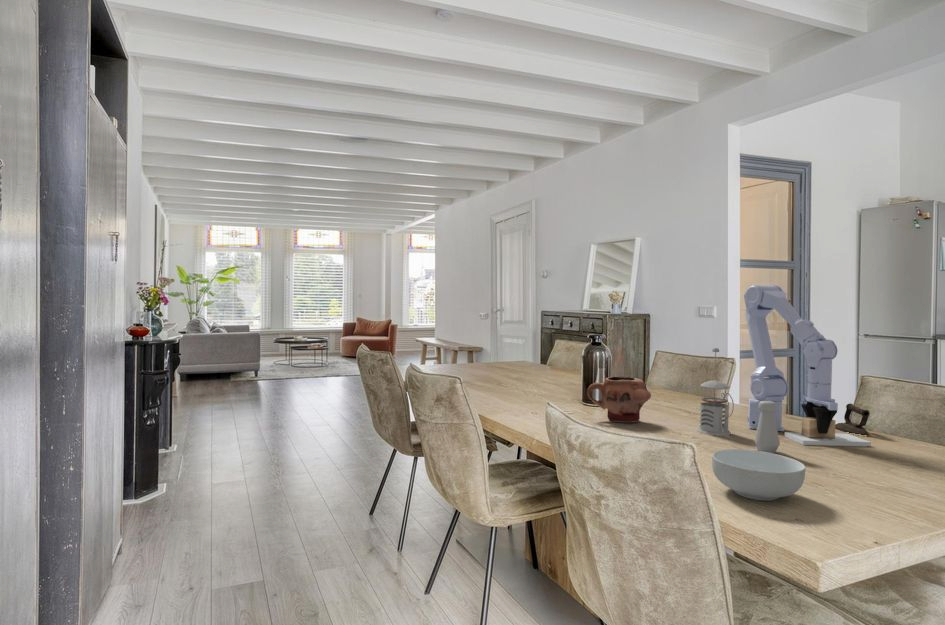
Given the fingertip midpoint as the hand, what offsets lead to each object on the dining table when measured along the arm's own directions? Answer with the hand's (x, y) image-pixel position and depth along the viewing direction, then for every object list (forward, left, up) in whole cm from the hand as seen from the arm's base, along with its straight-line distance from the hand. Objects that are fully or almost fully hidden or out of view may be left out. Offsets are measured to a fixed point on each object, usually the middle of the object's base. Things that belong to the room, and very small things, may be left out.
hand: (818, 431), depth 163 cm
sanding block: (0, 0, -2) cm, 2 cm away
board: (+2, +1, -3) cm, 4 cm away
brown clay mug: (-55, +4, -3) cm, 56 cm away
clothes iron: (+12, +19, -3) cm, 22 cm away
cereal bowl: (-19, -58, -3) cm, 61 cm away
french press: (-26, -1, -3) cm, 27 cm away
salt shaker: (-14, -19, -3) cm, 24 cm away
